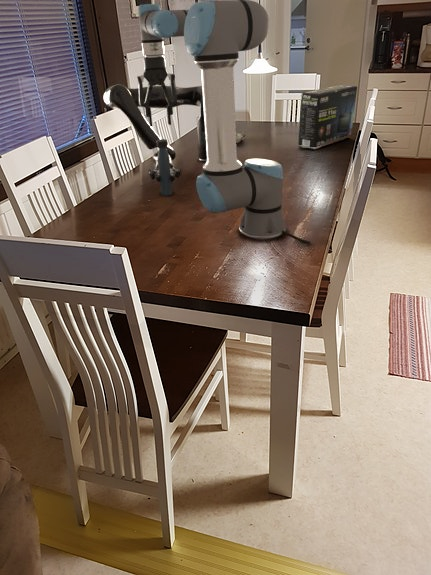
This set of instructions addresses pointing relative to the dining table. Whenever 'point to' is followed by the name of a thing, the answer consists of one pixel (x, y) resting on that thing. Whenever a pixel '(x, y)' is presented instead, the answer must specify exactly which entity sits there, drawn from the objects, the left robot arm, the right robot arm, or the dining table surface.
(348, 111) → the router box
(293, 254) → the dining table surface
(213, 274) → the dining table surface
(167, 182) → the bottle
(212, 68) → the right robot arm
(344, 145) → the dining table surface
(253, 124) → the dining table surface
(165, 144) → the cap
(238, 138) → the fossil
